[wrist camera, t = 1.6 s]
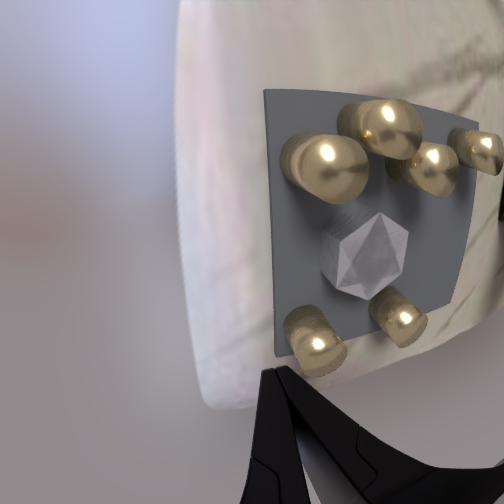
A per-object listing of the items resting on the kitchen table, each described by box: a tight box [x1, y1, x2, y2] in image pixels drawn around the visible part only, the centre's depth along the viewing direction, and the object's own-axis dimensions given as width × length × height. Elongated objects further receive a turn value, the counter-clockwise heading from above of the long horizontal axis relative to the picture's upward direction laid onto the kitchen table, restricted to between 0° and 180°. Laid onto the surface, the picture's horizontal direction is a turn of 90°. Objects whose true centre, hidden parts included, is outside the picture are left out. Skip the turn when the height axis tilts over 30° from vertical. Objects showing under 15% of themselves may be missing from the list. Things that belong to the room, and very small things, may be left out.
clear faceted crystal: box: [320, 201, 409, 300], centre depth 16 cm, size 6×5×2 cm
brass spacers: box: [279, 99, 504, 377], centre depth 16 cm, size 16×16×4 cm
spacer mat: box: [263, 89, 479, 357], centre depth 18 cm, size 19×18×1 cm
